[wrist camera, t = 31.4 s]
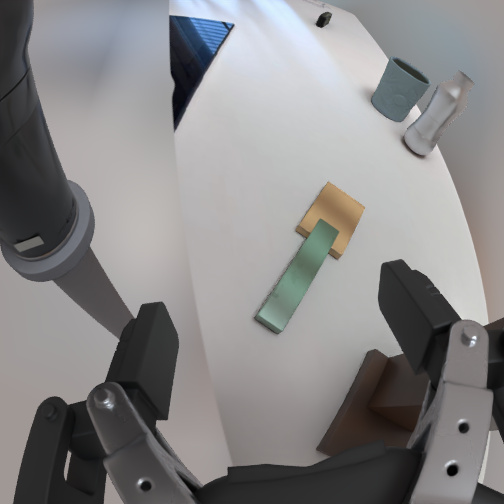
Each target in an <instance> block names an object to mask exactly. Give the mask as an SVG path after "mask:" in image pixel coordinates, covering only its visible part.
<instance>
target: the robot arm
mask: <svg viewBox="0 0 504 504" xmlns="http://www.w3.org/2000/svg"><path fill="white" fill-rule="evenodd" d="M33 4H34V3H33V0H0V238H1V239H2V240H3V241H4V242H5V243H6V244H7V245H8V246H9V248H10V249H11V251H12V252H13V253H14V254H15V255H16V256H17V257H19V258H20V259H22V260H25V261H30V262H35V261H41V260H44V259H47V258H49V257H51V256H52V255H54V254H55V253H57V252H58V251H59V250H60V249H62V248H63V247H64V245H65V244H66V243H67V242H68V241H69V239H70V238H71V236H72V234H73V233H74V231H75V228H76V226H77V222H78V217H79V207H78V203H77V200H76V198H75V196H74V194H73V192H72V191H71V189H70V186H69V184H68V181H67V179H66V176H65V173H64V171H63V169H62V166H61V163H60V161H59V158H58V155H57V153H56V150H55V148H54V144H53V141H52V138H51V136H50V132H49V130H48V126H47V124H46V120H45V117H44V114H43V110H42V107H41V103H40V100H39V96H38V93H37V89H36V86H35V81H34V77H33V73H32V69H31V64H30V60H29V55H28V43H29V39H30V35H31V30H32V25H33V15H34V10H33V9H34V5H33ZM378 303H379V307H380V310H381V312H382V314H383V316H384V318H385V319H386V321H387V323H388V325H389V327H390V328H391V330H392V332H393V334H394V336H395V338H396V339H397V341H398V343H399V345H400V347H401V349H402V351H403V353H404V355H405V357H406V358H407V360H408V362H409V364H410V366H411V368H412V370H413V372H414V374H415V376H418V375H421V374H423V373H427V375H428V377H429V379H430V380H429V383H428V386H427V390H426V394H425V397H424V401H423V405H422V408H421V411H420V415H419V418H418V421H417V424H416V427H415V429H414V431H413V433H412V435H411V437H410V440H409V442H408V444H407V446H406V448H405V447H394V446H388V447H385V443H384V440H383V439H381V440H377V441H374V442H371V443H367V444H364V445H360V446H357V447H353V448H349V449H346V450H344V451H342V452H340V453H338V454H336V455H334V456H332V457H330V458H327V459H325V460H323V461H321V462H319V463H316V464H314V465H312V466H308V467H299V466H284V465H273V464H260V465H250V466H236V467H228V475H227V476H223V477H221V478H218V479H215V480H213V481H211V482H209V483H207V484H206V485H204V486H203V485H202V484H201V483H200V482H199V481H198V480H197V478H196V477H195V476H194V475H193V474H192V473H191V472H190V471H189V470H188V469H187V468H186V467H185V465H184V464H183V463H182V462H181V460H180V459H179V458H178V457H177V455H176V454H175V452H174V451H173V450H172V448H171V447H170V446H169V444H168V443H167V441H166V440H165V438H164V437H163V436H162V434H161V433H160V431H159V430H158V429H157V428H156V420H168V413H169V406H170V398H171V391H172V386H173V379H174V372H175V366H176V359H177V354H178V348H179V340H178V334H177V331H176V329H175V327H174V325H173V322H172V320H171V318H170V316H169V313H168V311H167V309H166V306H165V305H164V303H163V302H154V303H147V304H142V305H141V307H140V310H139V313H138V315H137V318H136V319H131V321H130V322H129V323H128V324H127V325H126V327H125V328H124V329H123V332H122V334H121V337H120V342H119V343H118V345H117V348H116V349H117V351H115V353H114V356H113V359H112V362H111V365H110V368H109V371H108V374H107V377H106V380H105V382H104V383H101V384H99V385H97V386H96V387H95V388H94V389H93V390H92V391H91V392H90V394H89V395H88V397H87V400H85V401H82V402H78V403H74V404H70V405H67V404H66V403H65V401H64V400H63V399H61V398H60V397H55V396H54V397H50V398H48V399H46V400H44V401H43V402H42V403H41V404H40V406H39V407H38V409H37V412H36V415H35V418H34V421H33V424H32V427H31V430H30V434H29V437H28V441H27V444H26V448H25V451H24V455H23V459H22V463H21V467H20V472H19V476H18V481H17V486H16V491H15V496H14V502H13V504H104V493H105V483H106V474H107V473H108V475H109V477H110V479H111V481H112V483H113V485H114V486H115V488H116V490H117V492H118V494H119V496H120V497H121V499H122V501H123V502H124V504H504V494H502V493H500V492H498V491H495V490H493V489H490V488H489V487H486V486H484V485H482V484H480V483H478V479H479V475H480V471H481V467H482V463H483V459H484V454H485V450H486V445H487V439H488V434H489V428H490V421H491V414H492V416H493V418H494V420H495V423H496V425H497V427H498V430H499V432H500V435H501V437H502V440H503V442H504V327H503V329H497V330H485V328H484V327H483V326H482V325H480V324H479V323H477V322H475V321H472V320H462V319H461V318H460V317H459V315H458V314H457V313H456V312H455V310H454V309H453V308H452V306H451V305H450V304H449V303H448V301H447V300H446V299H445V298H444V296H443V295H442V294H440V291H439V290H438V289H437V288H436V287H434V284H433V283H432V282H431V281H430V279H429V278H428V277H427V276H426V275H424V274H422V273H421V272H419V271H417V270H411V269H410V267H409V266H408V265H407V264H406V263H405V262H404V260H402V259H399V260H395V261H390V262H385V263H383V264H382V266H381V273H380V283H379V292H378ZM68 451H70V452H71V458H70V463H69V469H68V474H67V480H65V478H64V467H65V462H66V458H67V453H68Z"/></svg>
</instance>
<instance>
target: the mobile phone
mask: <svg viewBox="0 0 504 504" xmlns="http://www.w3.org/2000/svg"><path fill="white" fill-rule="evenodd" d="M331 16H332V14H331V13H329V12H325V13H323V14H321V15H320V16H319V18H318V21H317V23H316V25H318V26H319V27H323V26H324V25H326V24H328V23H329V21H330V18H331Z"/></svg>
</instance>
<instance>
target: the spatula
mask: <svg viewBox="0 0 504 504" xmlns="http://www.w3.org/2000/svg"><path fill="white" fill-rule="evenodd" d="M364 209H365V207H364V206H363V205H361V204H360V203H359V202H357V201H356V200H355V199H353V198H352V197H350V196H349V195H347V194H346V193H345V192H343V191H342V190H340V189H339V188H337V187H336V186H334V185H333V184H331V183H330V182H327V184H326V185H325V187H324V188H323V190H322V191H321V193H320V194H319V196H318V197H317V199H316V200H315V202H314V203H313V205H312V206H311V208H310V209H309V211H308V212H307V214H306V215H305V217H304V218H303V220H302V221H301V223H300V224H299V226H298V227H297V229H296V231H297V232H299V233H300V234H302V235H303V236H305V237H306V238H307V239H306V240H305V242H304V244H303V245H302V247H301V248H300V250H299V251H298V253H297V254H296V256H295V258H294V259H293V261H292V262H291V264H290V265H289V267H288V268H287V270H286V271H285V273H284V275H283V276H282V278H281V279H280V281H279V282H278V284H277V285H276V287H275V288H274V290H273V291H272V293H271V294H270V296H269V297H268V299H267V300H266V302H265V303H264V305H263V306H262V308H261V309H260V311H259V312H258V314H257V315H256V317H255V319H256V320H258V321H259V322H261V323H262V324H263V325H265V326H266V327H268V328H269V329H271V330H272V331H274V332H275V333H277V334H279V333H280V332H282V331H283V330H284V328H285V326H286V325H287V323H288V321H289V320H290V318H291V316H292V315H293V313H294V312H295V310H296V308H297V306H298V305H299V303H300V301H301V300H302V298H303V296H304V295H305V293H306V291H307V289H308V288H309V286H310V284H311V283H312V281H313V279H314V277H315V276H316V274H317V272H318V270H319V269H320V267H321V265H322V263H323V261H324V260H325V258H326V256H327V254H328V253H329V254H331V255H332V256H333V257H335V258H336V259H339V258H340V257H341V256H342V255H343V253H344V251H345V249H346V247H347V245H348V242H349V240H350V238H351V236H352V234H353V232H354V230H355V228H356V226H357V224H358V222H359V220H360V217H361V215H362V213H363V211H364Z"/></svg>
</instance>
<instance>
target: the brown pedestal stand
mask: <svg viewBox="0 0 504 504" xmlns="http://www.w3.org/2000/svg"><path fill="white" fill-rule="evenodd" d="M483 327H484V328H485V330H497V329H503V327H504V318H502V319H499V320H497V321H495V322H493V323H490V324H488V325H485V326H483ZM429 380H430V379H429V377H428V375H427V373H423V374H421V375H418V376H415V374H414V372H413V370H412V368H411V366H410V364H409V362H408V360H407V358H406V357H405V355H404V354H401V355H397V356H394V357H390V358H388V357H387V356H385V355H384V354H382V353H381V352H379V351H378V350H376V349H374V350H371V351H368V353H367V355H366V357H365V360H364V362H363V364H362V366H361V368H360V370H359V372H358V375H357V377H356V379H355V381H354V383H353V385H352V387H351V389H350V391H349V393H348V395H347V397H346V398H345V400H344V402H343V404H342V406H341V408H340V410H339V412H338V413H337V415H336V417H335V419H334V421H333V422H332V424H331V426H330V428H329V429H328V431H327V433H326V434H325V436H324V438H323V439H322V441H321V443H320V444H319V446H318V448H317V450H318V451H321V452H323V453H325V454H327V455H329V456H331V457H332V456H334V455H336V454H338V453H340V452H342V451H344V450H346V449H349V448H353V447H357V446H360V445H364V444H367V443H371V442H374V441H377V440H381V439H383V440H384V443H385V447H388V446H394V447H405V448H406V446H407V444H408V442H409V440H410V437H411V435H412V433H413V431H414V429H415V427H416V424H417V421H418V418H419V415H420V411H421V408H422V405H423V401H424V397H425V394H426V390H427V386H428V383H429ZM493 430H498V427H497V425H496V423H495V420H494V418H493V416H492V414H491V421H490V428H489V431H493Z"/></svg>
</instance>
